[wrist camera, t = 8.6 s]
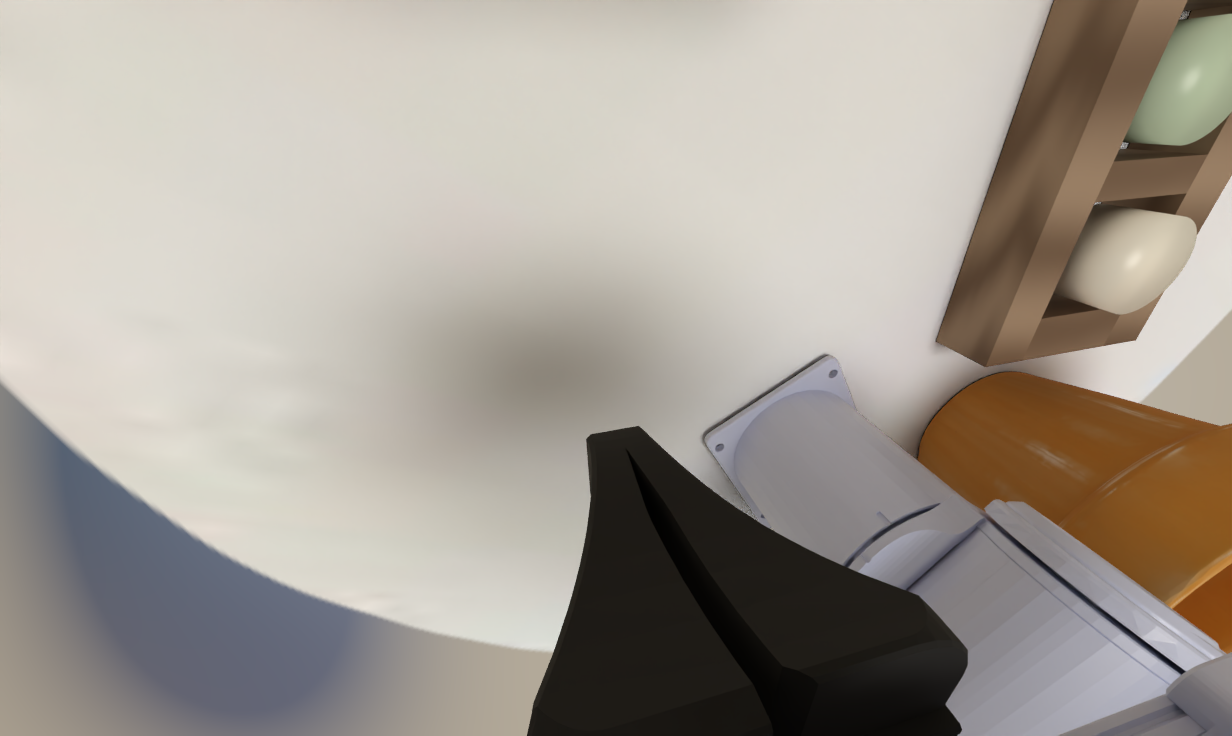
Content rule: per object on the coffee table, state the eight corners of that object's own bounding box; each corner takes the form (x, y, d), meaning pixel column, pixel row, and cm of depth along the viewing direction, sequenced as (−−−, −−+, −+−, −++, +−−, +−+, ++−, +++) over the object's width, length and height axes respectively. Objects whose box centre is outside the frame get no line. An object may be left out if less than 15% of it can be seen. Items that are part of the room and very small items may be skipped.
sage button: (1137, 138, 22) (1218, 142, 20) (1064, 143, 21) (1140, 148, 19) (1191, 23, 20) (1291, 11, 17) (1112, 23, 19) (1206, 10, 17)
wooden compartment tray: (1076, 318, 28) (1135, 340, 25) (936, 341, 26) (985, 366, 23) (1399, -330, 16) (1572, -411, 13) (1185, -380, 14) (1342, -488, 11)
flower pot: (844, 443, 28) (1077, 660, 17) (1052, 280, 26) (1475, 409, 15) (916, 536, 35) (1112, 731, 24) (1084, 415, 33) (1383, 570, 22)
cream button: (1091, 287, 25) (1159, 308, 22) (1025, 297, 24) (1088, 320, 21) (1136, 200, 22) (1216, 212, 20) (1064, 207, 22) (1139, 220, 19)
